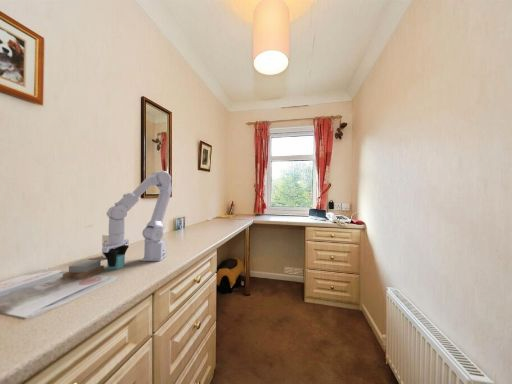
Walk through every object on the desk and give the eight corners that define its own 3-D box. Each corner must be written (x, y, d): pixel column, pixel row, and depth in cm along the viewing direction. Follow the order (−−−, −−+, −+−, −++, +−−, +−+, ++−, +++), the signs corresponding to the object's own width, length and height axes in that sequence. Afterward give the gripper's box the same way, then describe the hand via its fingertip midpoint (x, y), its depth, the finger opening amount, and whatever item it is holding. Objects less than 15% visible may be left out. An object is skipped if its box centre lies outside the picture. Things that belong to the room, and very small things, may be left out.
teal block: (124, 265, 91) (124, 254, 91) (117, 269, 86) (118, 257, 86) (114, 265, 91) (114, 254, 91) (107, 269, 86) (107, 257, 86)
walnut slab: (103, 271, 86) (103, 265, 86) (86, 280, 77) (86, 274, 77) (82, 271, 86) (82, 265, 86) (62, 280, 77) (62, 274, 77)
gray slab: (100, 266, 85) (100, 260, 85) (86, 272, 78) (86, 266, 78) (84, 265, 85) (84, 260, 85) (68, 272, 78) (68, 266, 78)
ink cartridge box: (116, 253, 109) (116, 225, 109) (124, 253, 108) (124, 226, 108) (101, 258, 101) (101, 228, 101) (109, 258, 100) (110, 229, 100)
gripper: (118, 230, 96) (117, 258, 96) (94, 236, 81) (94, 270, 81) (133, 230, 96) (132, 258, 96) (112, 237, 82) (111, 270, 81)
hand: (116, 264), depth 89 cm, fingers closed on teal block, 4 cm apart
